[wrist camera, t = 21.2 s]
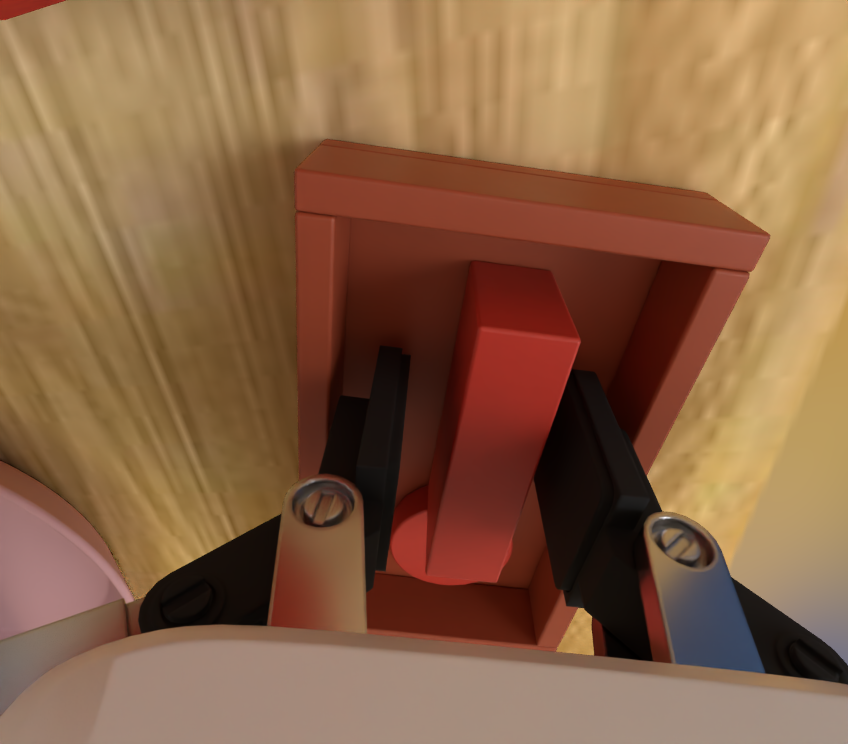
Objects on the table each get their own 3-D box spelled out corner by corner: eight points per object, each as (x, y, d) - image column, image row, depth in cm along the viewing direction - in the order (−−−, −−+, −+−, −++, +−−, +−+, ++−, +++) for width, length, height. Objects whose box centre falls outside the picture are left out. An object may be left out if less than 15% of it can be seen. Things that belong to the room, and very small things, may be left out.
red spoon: (496, 564, 17) (505, 657, 15) (387, 552, 17) (377, 644, 14) (593, 274, 11) (635, 347, 9) (429, 253, 11) (424, 319, 9)
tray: (539, 586, 19) (552, 660, 16) (317, 563, 18) (300, 635, 16) (708, 192, 11) (774, 234, 9) (324, 138, 10) (292, 168, 8)
